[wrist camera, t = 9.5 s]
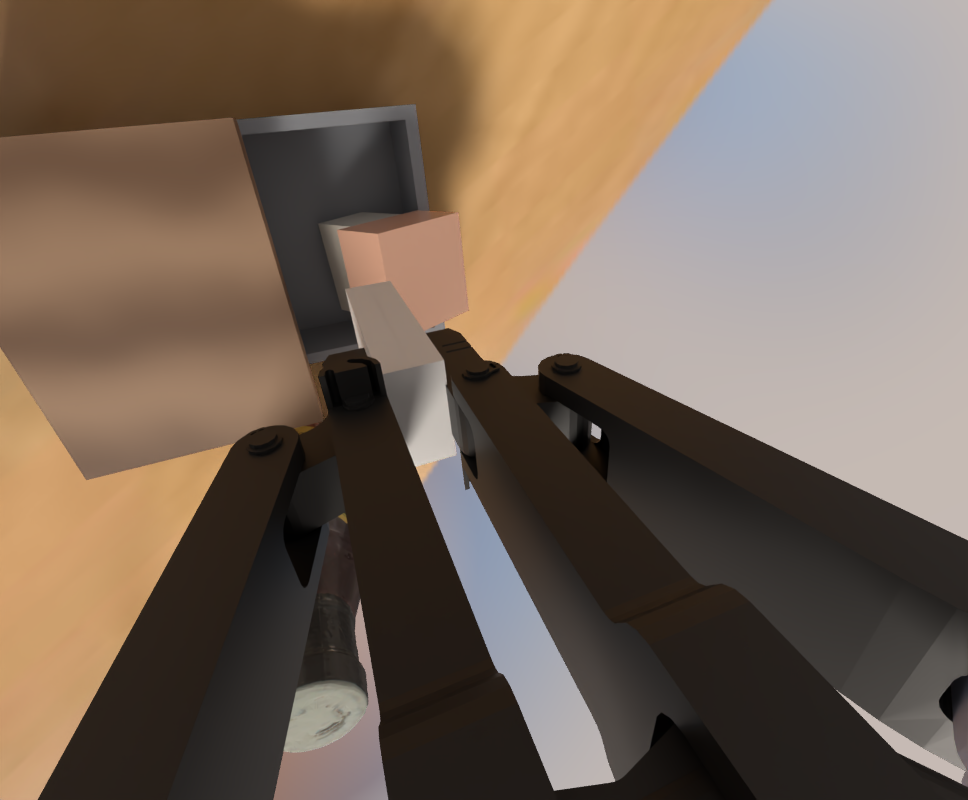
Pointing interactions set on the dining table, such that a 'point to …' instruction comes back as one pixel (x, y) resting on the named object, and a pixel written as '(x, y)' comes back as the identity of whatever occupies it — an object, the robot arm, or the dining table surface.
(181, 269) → the plate
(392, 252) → the salmon pink square block
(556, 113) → the dining table surface
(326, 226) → the cream tile
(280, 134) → the bin
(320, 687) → the sauce bottle
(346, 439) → the robot arm
